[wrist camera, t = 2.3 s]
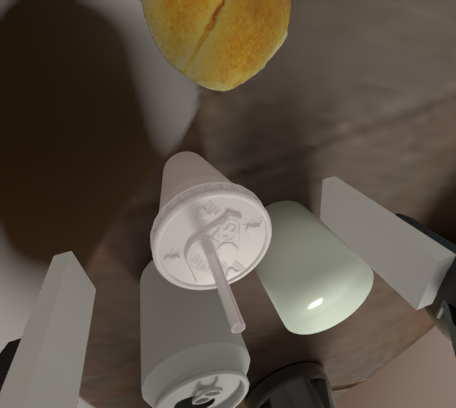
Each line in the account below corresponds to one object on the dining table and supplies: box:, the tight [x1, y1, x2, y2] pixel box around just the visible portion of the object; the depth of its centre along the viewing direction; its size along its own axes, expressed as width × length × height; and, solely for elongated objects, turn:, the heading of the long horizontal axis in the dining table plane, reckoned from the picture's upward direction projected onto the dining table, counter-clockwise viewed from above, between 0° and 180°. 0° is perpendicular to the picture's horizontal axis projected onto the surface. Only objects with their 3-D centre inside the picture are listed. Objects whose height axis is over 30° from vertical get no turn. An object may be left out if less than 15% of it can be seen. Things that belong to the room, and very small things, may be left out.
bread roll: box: [141, 0, 291, 91], centre depth 15 cm, size 8×9×4 cm
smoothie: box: [150, 151, 272, 333], centre depth 15 cm, size 6×6×14 cm
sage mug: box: [254, 201, 374, 334], centre depth 24 cm, size 10×8×9 cm
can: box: [140, 260, 250, 408], centre depth 21 cm, size 8×8×12 cm
